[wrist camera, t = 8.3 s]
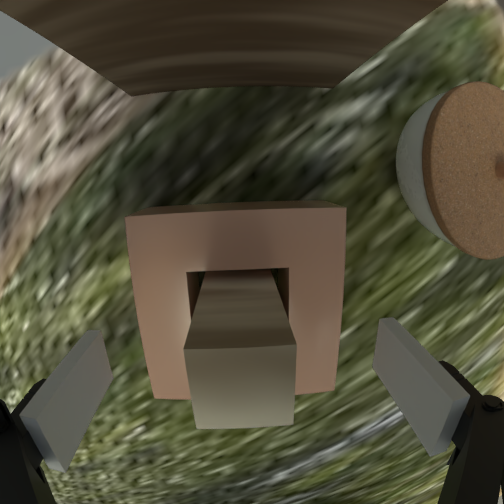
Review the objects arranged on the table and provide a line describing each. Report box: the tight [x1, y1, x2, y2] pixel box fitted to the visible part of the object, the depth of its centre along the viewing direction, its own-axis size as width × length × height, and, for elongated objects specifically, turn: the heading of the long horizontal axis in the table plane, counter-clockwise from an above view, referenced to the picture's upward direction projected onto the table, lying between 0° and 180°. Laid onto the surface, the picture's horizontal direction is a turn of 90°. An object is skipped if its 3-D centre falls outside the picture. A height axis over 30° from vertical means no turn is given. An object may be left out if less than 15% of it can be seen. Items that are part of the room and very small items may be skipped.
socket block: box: [125, 200, 346, 399], centre depth 21 cm, size 12×12×5 cm
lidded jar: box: [396, 81, 504, 259], centre depth 17 cm, size 11×11×9 cm
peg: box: [183, 268, 297, 429], centre depth 17 cm, size 4×4×12 cm
